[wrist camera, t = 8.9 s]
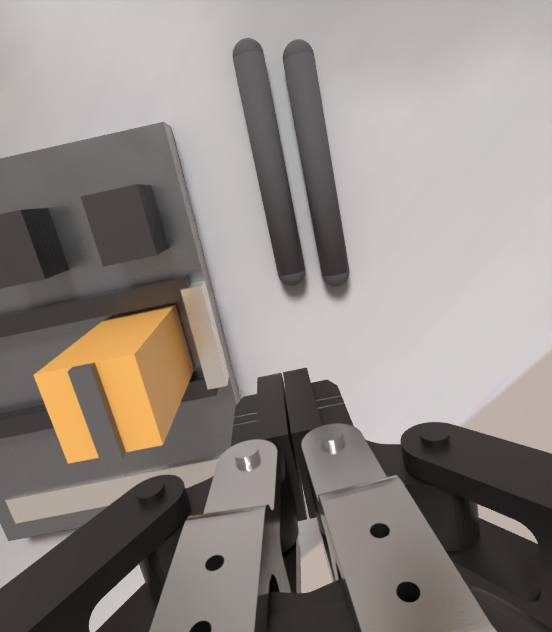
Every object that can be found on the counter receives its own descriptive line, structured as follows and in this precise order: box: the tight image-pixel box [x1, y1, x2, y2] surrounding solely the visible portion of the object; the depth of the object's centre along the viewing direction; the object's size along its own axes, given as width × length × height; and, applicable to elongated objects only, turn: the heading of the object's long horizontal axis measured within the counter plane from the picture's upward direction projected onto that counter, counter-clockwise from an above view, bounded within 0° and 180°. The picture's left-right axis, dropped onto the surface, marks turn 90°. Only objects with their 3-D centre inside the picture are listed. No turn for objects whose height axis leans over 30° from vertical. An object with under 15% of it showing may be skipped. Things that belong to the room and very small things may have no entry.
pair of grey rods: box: [233, 38, 349, 286], centre depth 21 cm, size 4×12×1 cm, turn 12°
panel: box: [0, 122, 240, 541], centre depth 22 cm, size 15×20×4 cm
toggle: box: [34, 304, 194, 464], centre depth 19 cm, size 4×4×7 cm
